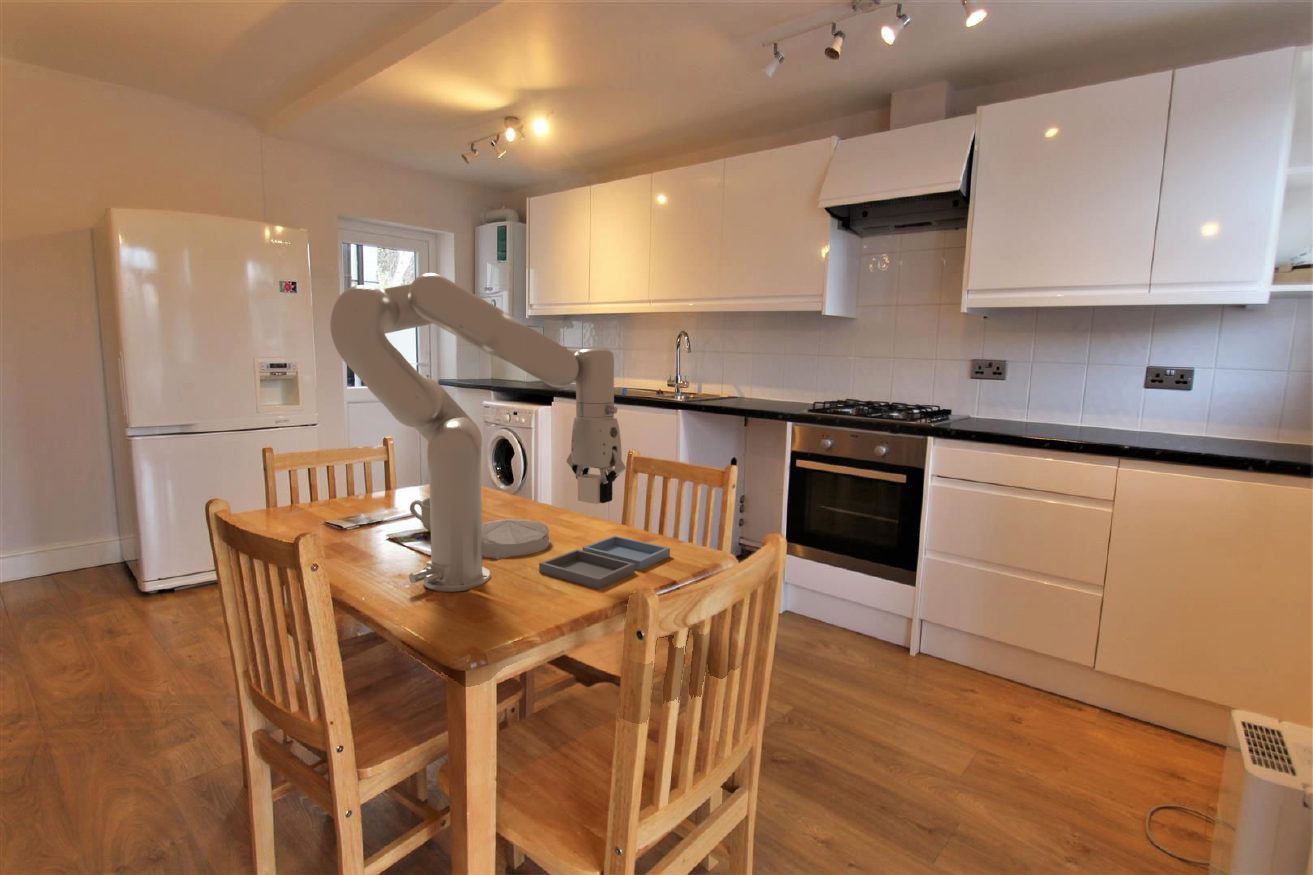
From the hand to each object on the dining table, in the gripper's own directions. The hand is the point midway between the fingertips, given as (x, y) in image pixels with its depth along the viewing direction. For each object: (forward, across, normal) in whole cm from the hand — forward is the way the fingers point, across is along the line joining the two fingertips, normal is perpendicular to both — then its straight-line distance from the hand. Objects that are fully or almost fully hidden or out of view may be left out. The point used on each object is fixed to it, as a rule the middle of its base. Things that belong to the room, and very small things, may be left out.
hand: (595, 498), depth 129 cm
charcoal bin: (+16, 0, +2) cm, 16 cm away
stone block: (0, 0, 0) cm, 0 cm away
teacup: (+15, +50, +1) cm, 53 cm away
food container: (+16, +27, -1) cm, 32 cm away
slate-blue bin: (+16, +1, -11) cm, 19 cm away
